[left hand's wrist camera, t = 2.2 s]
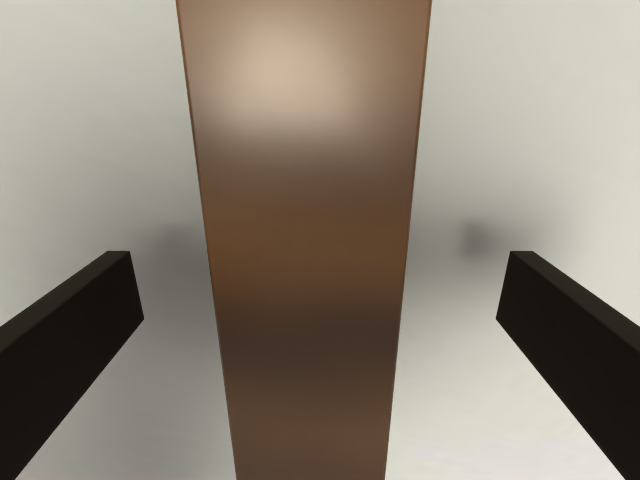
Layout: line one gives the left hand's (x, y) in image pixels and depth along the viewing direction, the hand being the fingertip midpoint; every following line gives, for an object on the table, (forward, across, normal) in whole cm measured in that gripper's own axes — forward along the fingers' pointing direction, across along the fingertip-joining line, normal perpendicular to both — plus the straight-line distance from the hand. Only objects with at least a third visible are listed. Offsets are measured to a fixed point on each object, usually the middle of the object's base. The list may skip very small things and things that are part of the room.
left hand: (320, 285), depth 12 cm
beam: (+4, 0, -21) cm, 22 cm away
